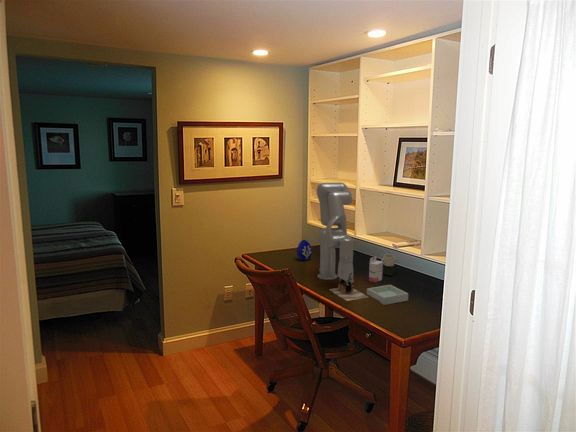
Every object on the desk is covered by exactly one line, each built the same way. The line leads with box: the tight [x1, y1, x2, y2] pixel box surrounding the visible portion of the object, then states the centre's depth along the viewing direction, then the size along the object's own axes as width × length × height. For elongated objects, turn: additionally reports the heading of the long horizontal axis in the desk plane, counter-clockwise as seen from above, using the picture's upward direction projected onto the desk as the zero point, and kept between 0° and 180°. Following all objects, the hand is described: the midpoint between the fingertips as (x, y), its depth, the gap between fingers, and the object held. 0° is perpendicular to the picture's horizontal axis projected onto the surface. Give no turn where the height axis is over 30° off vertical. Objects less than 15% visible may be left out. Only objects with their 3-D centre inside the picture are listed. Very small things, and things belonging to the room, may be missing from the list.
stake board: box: [329, 281, 369, 302], centre depth 254 cm, size 20×14×6 cm
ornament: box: [296, 239, 313, 261], centre depth 324 cm, size 11×9×15 cm
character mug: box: [380, 253, 397, 276], centre depth 289 cm, size 11×7×13 cm, turn 107°
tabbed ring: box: [337, 283, 356, 294], centre depth 257 cm, size 6×8×4 cm
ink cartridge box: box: [368, 255, 384, 283], centre depth 278 cm, size 9×5×15 cm, turn 141°
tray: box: [366, 284, 409, 306], centre depth 249 cm, size 16×16×4 cm
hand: (345, 289), depth 257 cm, fingers closed on tabbed ring, 5 cm apart
